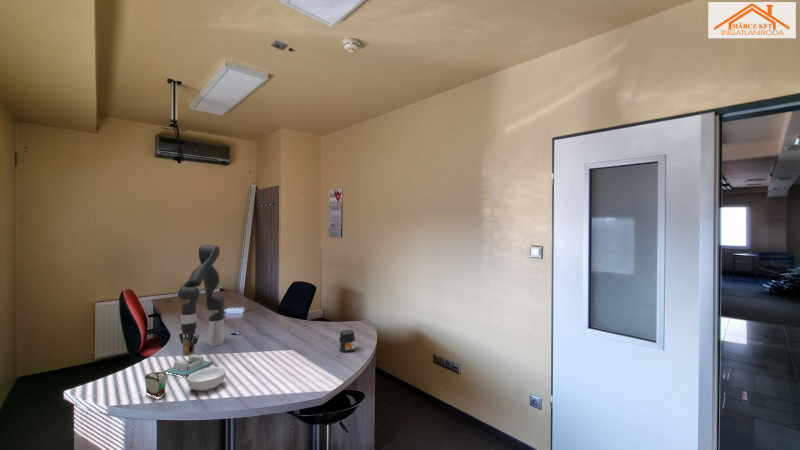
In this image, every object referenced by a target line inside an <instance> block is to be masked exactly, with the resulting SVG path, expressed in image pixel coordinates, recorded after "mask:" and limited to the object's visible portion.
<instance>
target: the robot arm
mask: <svg viewBox="0 0 800 450" xmlns="http://www.w3.org/2000/svg"><path fill="white" fill-rule="evenodd" d="M220 252H221V251H220V247H219V246H218V245H212V244H211V245H210V244H202V245H200V246H199V248H198V259H199V262H200V265H199V266H198V267H196V268H195V269H194V270H193V271H192V273H191V275H190V277H189V278H188V280H187V281H186V282H185V283H184V284H182V286H181V287H179V289H178V292H177V297H178V299H180V300H183V301H184V300H185V301H187V300H189V302H187V303H183V304H182V306H181V318H180V331H181V333H179V334H178V337H179V341H180V344H182V345H183V338H186V337H187V338H188V342H189V352H193V350H194V344H195V345H197V343H198V341H199V337H200V335H199V334H196V330H197V326H198V325H197V323H198V322H197V321H198V320H197V305H198V304H197V303H198V301H199V297H200V289H199V288H198V287H200V286H201V285H202V282H203V286H204V291H205V302H206V304H205V306H206V309H207V311H217V312H216V313H214V314H213V313H212V314H211V315H209V316H208V331H207V345H208V346H210V347H216V346H217V347H218V346H221V345H224V343H225V297H224V296H220V295H219V296H212V295H213V293H214V291H216V289H217V287H218V286H219V284H220V275H219V272H218V270H217V269H216V268H215V267H214V264H215V262H216V261H217V259H218V258H219V255H220ZM191 339H192V340H191ZM191 341H192V343H191Z"/></svg>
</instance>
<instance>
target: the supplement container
mask: <svg viewBox="0 0 800 450" xmlns="http://www.w3.org/2000/svg"><path fill="white" fill-rule="evenodd" d="M338 340H339V342H338V343H339V345H338V347H339V348H338V350H339V351H340V352H341V353H347V352H348V353H351V352H354V351H355V350H356V335H355V331H354V330H352V329H343V330H341V331H340V332H339V337H338ZM348 353H347V354H348Z"/></svg>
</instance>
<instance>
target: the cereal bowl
mask: <svg viewBox="0 0 800 450" xmlns="http://www.w3.org/2000/svg"><path fill="white" fill-rule="evenodd" d="M226 372H227V370H226V369H225V368H224V367H220V366H217V367H214V366H213V367H206V368H204V369H201V370H198V371H196V372H194V373H192V374H190V375H189V376H187V384H188V386H189V387H190V389H192V390H193V391H199V390H200V391H199V392H206V391H210V390H213V389H214V388H216V387H218V386H220V385H221V384H222V383H223V381H225V379H226Z"/></svg>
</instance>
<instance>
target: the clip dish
mask: <svg viewBox="0 0 800 450" xmlns="http://www.w3.org/2000/svg"><path fill="white" fill-rule="evenodd" d="M213 364H214V362H213V361H209V360H204V357H203V356H201V355H195V354H191V355H188V359H187V360H185V361H181V360H175V361H174V362H173V367H169V368H167V369H165V370H163V371H162V372H168V373H172V374H176V375H180V376H183V377H184V376H186V375H189V374H191V373H194V372H196V371H198V370H201V369H205V368H209V367H210V366H213ZM183 377H182V378H183ZM186 377H187V376H186ZM184 378H185V377H184Z"/></svg>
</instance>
